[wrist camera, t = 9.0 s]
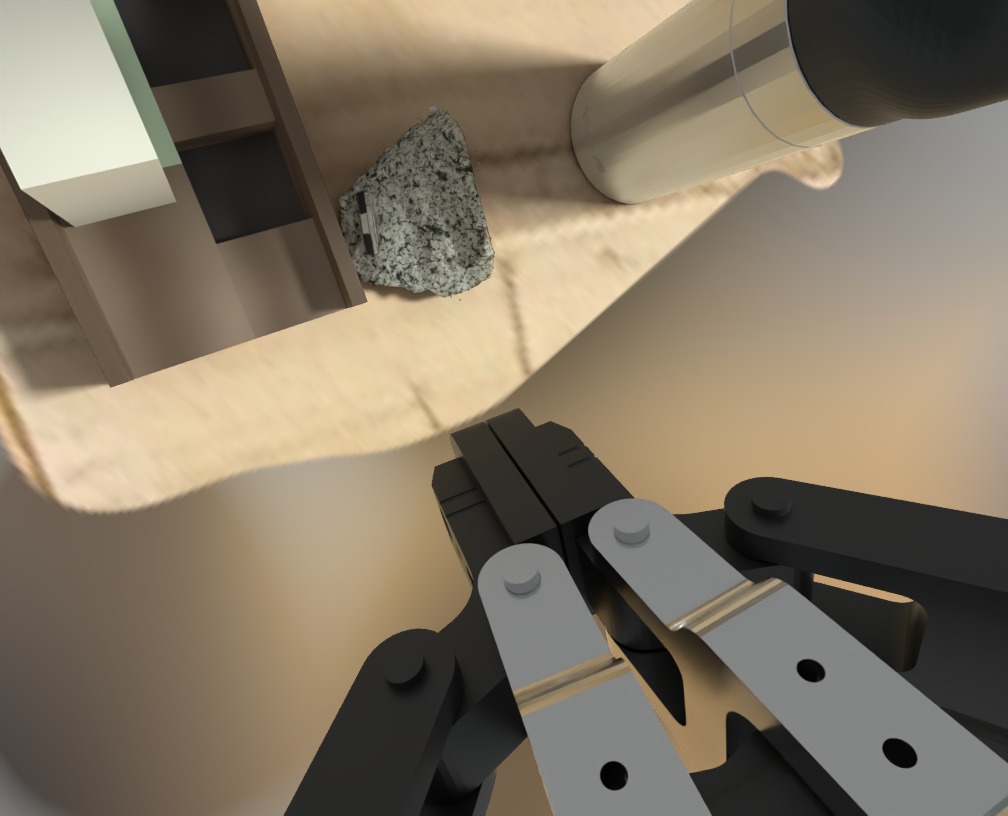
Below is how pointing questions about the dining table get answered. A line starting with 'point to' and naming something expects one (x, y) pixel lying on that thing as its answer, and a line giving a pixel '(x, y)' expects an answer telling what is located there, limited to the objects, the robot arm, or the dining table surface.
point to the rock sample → (419, 214)
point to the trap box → (202, 199)
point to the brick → (72, 115)
